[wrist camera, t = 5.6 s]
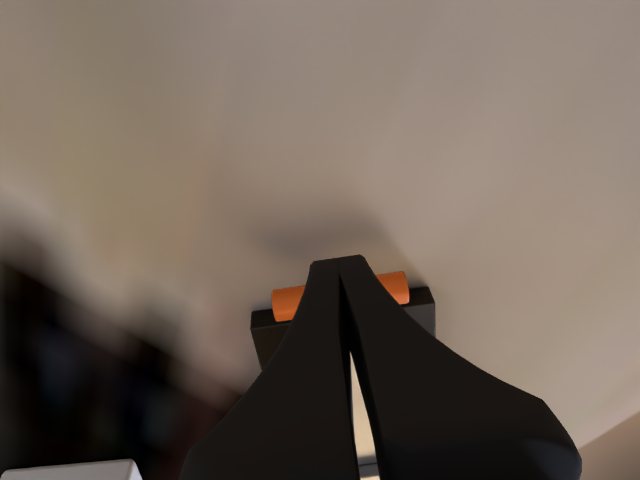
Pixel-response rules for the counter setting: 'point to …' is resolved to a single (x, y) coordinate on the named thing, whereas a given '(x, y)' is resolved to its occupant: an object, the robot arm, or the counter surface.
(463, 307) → the counter surface
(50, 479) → the medicine bottle
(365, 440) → the switch lever
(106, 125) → the counter surface
